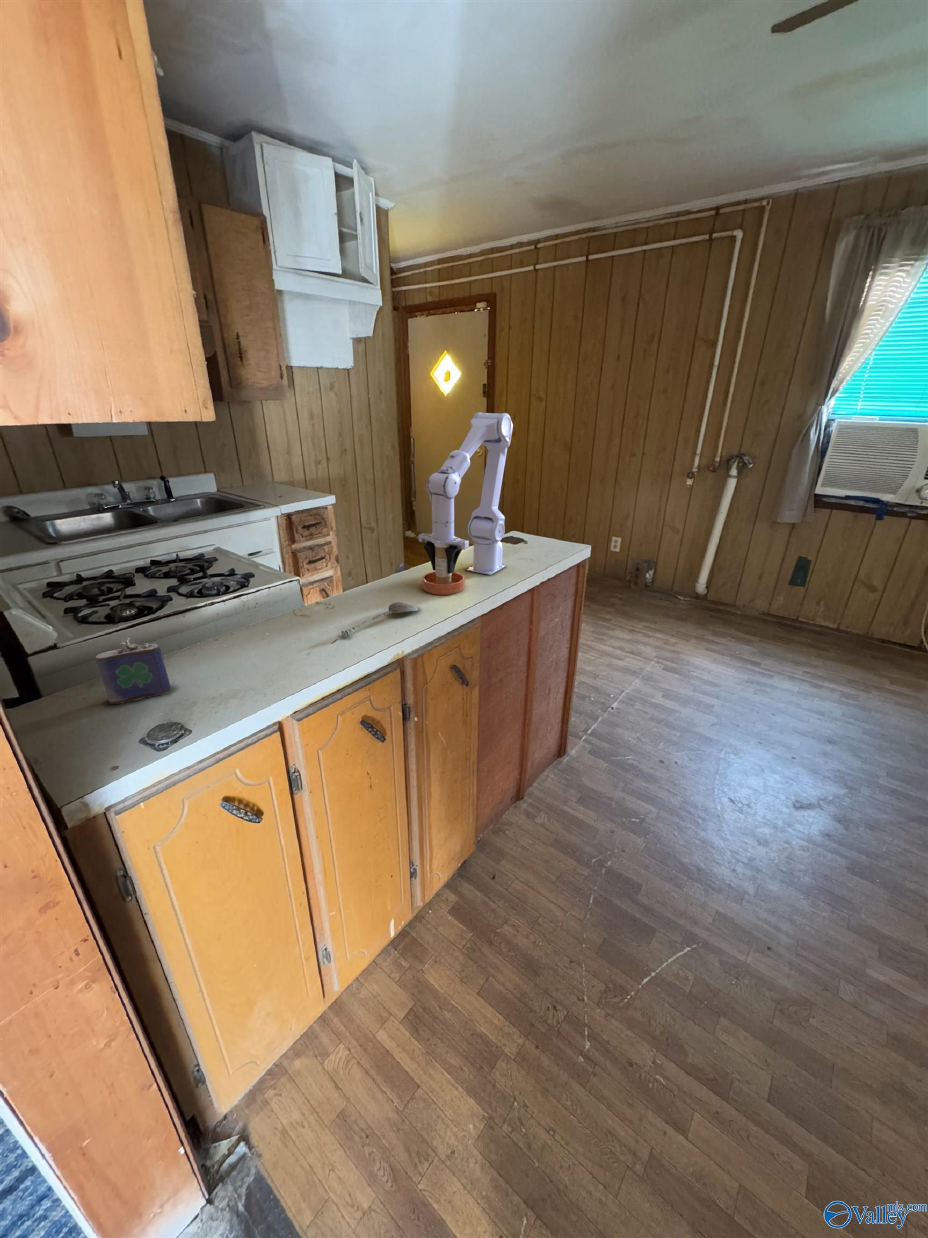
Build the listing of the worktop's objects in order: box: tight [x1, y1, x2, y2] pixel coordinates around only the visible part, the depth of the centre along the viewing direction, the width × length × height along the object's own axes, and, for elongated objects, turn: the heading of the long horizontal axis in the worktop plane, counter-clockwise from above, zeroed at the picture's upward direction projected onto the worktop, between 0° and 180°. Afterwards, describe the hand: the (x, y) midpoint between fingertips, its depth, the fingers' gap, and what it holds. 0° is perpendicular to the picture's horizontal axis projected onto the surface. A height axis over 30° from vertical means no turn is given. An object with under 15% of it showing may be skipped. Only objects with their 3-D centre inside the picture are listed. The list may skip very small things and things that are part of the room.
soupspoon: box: [340, 601, 419, 638], centre depth 116 cm, size 22×3×7 cm
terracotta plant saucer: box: [421, 571, 466, 596], centre depth 137 cm, size 12×12×3 cm
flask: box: [94, 637, 172, 705], centre depth 85 cm, size 9×3×11 cm, turn 117°
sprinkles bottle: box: [434, 543, 452, 584], centre depth 134 cm, size 5×5×13 cm
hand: (443, 570), depth 135 cm, fingers closed on sprinkles bottle, 4 cm apart
